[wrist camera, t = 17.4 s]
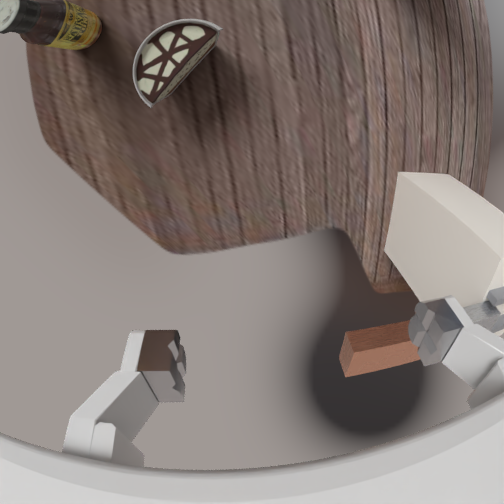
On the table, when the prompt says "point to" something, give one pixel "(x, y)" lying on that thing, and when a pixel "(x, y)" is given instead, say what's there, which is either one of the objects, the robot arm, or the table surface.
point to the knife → (396, 342)
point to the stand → (447, 241)
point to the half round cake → (171, 56)
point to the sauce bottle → (50, 23)
